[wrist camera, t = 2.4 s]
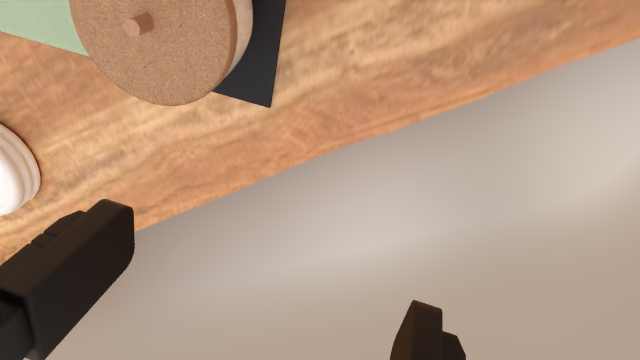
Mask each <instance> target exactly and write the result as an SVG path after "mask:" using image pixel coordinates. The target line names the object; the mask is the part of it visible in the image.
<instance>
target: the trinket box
mask: <svg viewBox="0 0 640 360" xmlns="http://www.w3.org/2000/svg"><path fill="white" fill-rule="evenodd" d="M69 6H70V12H71V17H72V20H73V23H74V26H75V29H76V32H77V34H78V36H79V39H80V41H81V43H82V45H83V47H84V48H85V50H86V51H87V53H88V55H89V56H90V58H91V59H92V60H93V62H94V63H95V64H96V66H97V67H98V68H99V69H100V70H101V71H102V72H103V73H104V74H105V76H106V77H107V78H109V79H110V80H111V81H112V82H113V83H114V84H115V85H117V86H118V87H119V88H121V89H123V90H124V91H126V92H127V93H129V94H131V95H133V96H135V97H137V98H138V99H141V100H144V101H147V102H150V103H153V104H158V105H163V106H178V105H185V104H188V103H191V102H194V101H197V100H199V99H200V98H202V97H204V96H206V95H207V94H208V93H210V92H211V91H212V90H213V89H214V88H215V87H216V86H218V85H219V84H220V82H221V81H222V80H223V79H224V78H225V77H226V76H227V75H228V74H229V73H230V72H231V71H232V70H233V68H234V67H235V66H236V65H237V63H238V62H239V61H240V59H241V57H242V55H243V54H244V52H245V50H246V48H247V45H248V42H249V39H250V36H251V32H252V25H253V8H252V0H69Z"/></svg>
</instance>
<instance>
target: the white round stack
mask: <svg viewBox="0 0 640 360" xmlns="http://www.w3.org/2000/svg"><path fill="white" fill-rule="evenodd" d="M40 179H41V178H40V172H39V168H38V165H37V163H36V160H35V158H34V157H33V155H32V153H31V152H30V150H29V149H28V147H27V146H26V145H25V144H24V143H23V141H22V140H21V139H20V138H19V137H18V136H17V135H15V134H14V133H13V132H12V131H10V130H9V129H8V128H6V127H5V126H3V125H1V124H0V216H2V215H7V214H9V213H12V212H14V211H15V210H16V209H17V208H18V207H20V206H22V205H24V204H25V203H26V202H27V201H29V200H31V199H32V198H33V197H34V196H35V195H36V194H37V192H38V190H39V188H40Z"/></svg>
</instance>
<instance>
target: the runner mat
mask: <svg viewBox="0 0 640 360" xmlns="http://www.w3.org/2000/svg"><path fill="white" fill-rule="evenodd" d="M285 3H286V0H252V8H253V25H252V32H251V36H250V39H249V42H248V45H247V48H246V50H245V52H244V54H243V55H242V57H241V59H240V61H239V62H238V63H237V65H236V66H235V67H234V68H233V70H232V71H231V72H230V73H229V74H228V75H227V76H226V77H225V78H224V79H223V80H222V81H221V82H220V84H219V85H218V86H216V87H215V88H214V89H213V90H212V92H216V93H219V94H223V95H226V96H230V97H233V98H237V99H240V100H244V101H247V102H251V103H254V104H258V105H261V106H265V107H268V108H270V107H271V100H272V93H273V86H274V79H275V72H276V65H277V58H278V51H279V44H280V37H281V30H282V23H283V17H284V10H285ZM0 31H2V32H5V33H9V34H12V35H16V36H19V37H23V38H26V39H30V40H33V41H37V42H40V43H44V44H47V45H51V46H54V47H58V48H61V49H65V50H68V51H72V52H75V53H79V54H82V55H86V56H89V55H88V53H87V51H86V50H85V48H84V47H83V45H82V43H81V41H80V39H79V36H78V34H77V32H76V29H75V26H74V23H73V20H72V17H71V12H70V6H69V0H0ZM89 57H90V56H89Z"/></svg>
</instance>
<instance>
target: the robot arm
mask: <svg viewBox="0 0 640 360" xmlns="http://www.w3.org/2000/svg"><path fill="white" fill-rule="evenodd" d="M134 248H135V243H134V213H133V209H132V208H131V207H129V206H126V205H123V204H120V203H117V202H114V201H111V200H108V199H102V200H100V201H99V202H98V203H96V204H95V205H94V206H93V207H92V208H90V209H89V210H88V211H87V212H83V211H80V210H79V211H77V212H75V213H72V214H70V215H67V216H65V217H63V218H60V219H59V220H57V221H56V222H55V223H54V224H52V225H51V226H50V227H48V228H47V229H46V230H45V231H44V233H43V234H40V235H38V236H37V237H36V238H35V239H33V240H32V241H31V244H27V245H26V246H25V247H23V248H22V249H21V250H20V251H18V252H17V253H16V254H15V255H13V256H12V257H11V258H9V259H8V260H7V261H6V262H4V263H3V264H2V265H1V266H0V360H23V359H24V358H28V359H30V360H45V359H46V357H48V355H49V354H50V353H51V352H52V351H53V350H54V349H55V348H56V346H57V345H58V344H59V343H60V342H61V341H62V340H63V339H64V337H65V336H66V335H67V334H68V333H69V332H70V331H71V330H72V328H74V326H75V325H76V324H77V323H78V322H79V321H80V319H82V317H83V316H84V315H85V314H86V313H87V312H88V311H89V309H91V307H92V306H93V305H94V304H95V303H96V302H97V301H98V300H99V298H100V297H101V296H102V295H103V294H104V293H105V292H106V291H107V290H108V288H109V287H110V286H111V285H112V284H113V283H114V282H115V281H116V280H117V278H118V277H119V276H120V275H121V274H122V273H123V271H125V269H126V268H127V267H128V265H129V264H130V262H131V260H132V257H133V254H134ZM390 360H466V355H465V353H464V351H463V348H462V346H461V344H460V342H459V339H458V337H457V336H456V335H453V334H450V333H447V332H444V331H442V310H441V309H440V308H437V307H434V306H431V305H428V304H425V303H422V302H419V301H416V300H413V301H412V303H411V305H410V307H409V309H408V311H407V313H406V316H405V318H404V320H403V322H402V324H401V327H400V329H399V331H398V333H397V335H396V338H395V341H394V344H393V347H392V351H391V356H390Z"/></svg>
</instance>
